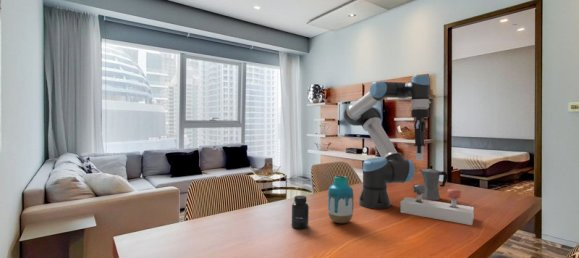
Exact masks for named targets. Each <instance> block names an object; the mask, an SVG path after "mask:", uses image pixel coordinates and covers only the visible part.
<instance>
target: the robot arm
mask: <svg viewBox="0 0 579 258" xmlns="http://www.w3.org/2000/svg"><path fill="white" fill-rule="evenodd" d="M430 87H431V81H430V76H429V75H428V74H416V75H413V76H411V81H407V82H406V81H405V82H402V81H399V82H398V81H382V80H381V81H373V82H372V83H371V84H370V87H369V91H368V92H367V93H365V94H364V95H362V97H360V98H359V99H357V101H355V102H354V103H352V104H349V105H348V106H347V107H346V108H345V109H344V111H343V119H344V121H345V122H346V123H347V124H348V125H350V126H354V127H355V126H357V127H358V126H360V127H362V128H363V130H364V131H365V132H368V135H369V136H370V138H371V140H372V142H373V144H374V145H375V148H376V150H377V151H378V153H379V155H380V157H371V158H367V159H365V160H363V162H362V190H361V193H360V195H359V199H358V202H359V203H358V204H359V205H360V206H362V207H364V208H367V209H375V210H376V209H377V210H380V209H381V210H383V209H387V208H390V207H391V200H390V196H389V192H388V189H387V187H388V184H399V183H401V184H403V183H408V182H411V181H412V180H413V178H414V176H415V172H416V171H415V169H416V168H415V164H414V162H413V161H412V160H411V159H408V158H405V157H404V156H403V154H402V153H400V152H398V151H397V150H396V148H395V146H394V144H393V143H392V141H391V139H390V137H389V136H388V134H387V133H386V131H385V130H384V127H383V126H382V122H383V113H382V111H381V110H380V108H378V107H374V106H376V105H377V104H379V103H380V102H382V101H383V100H385V99H387V98H388V99H389V98H393V99H394V98H395V99H396V98H397V99H408V98H409V99H410V98H411V100H410V101H411V107H410V108H411V112H410V113H411V114H410V115H411V118H413V119H414V118H415V121H414V125H413V126H414V127H413V128H414V147H415V149H416V150H415V160H416V161H422V162H423V161H424V147H425V146H426V143H425V135H426V127H427V126H426V121H425V118H429V117H430V109H429V108H430V104H432V101H430V94H431V91H430V89H431V88H430Z"/></svg>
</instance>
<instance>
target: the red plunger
mask: <svg viewBox="0 0 579 258" xmlns="http://www.w3.org/2000/svg"><path fill="white" fill-rule="evenodd" d="M447 197H448V198H451V202H450V204H451V208H456V209H457V205H458V204H457V203H458V202H457V200H458V199H461V198H462V191H461V189H459V188H447Z"/></svg>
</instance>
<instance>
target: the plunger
mask: <svg viewBox="0 0 579 258" xmlns="http://www.w3.org/2000/svg"><path fill="white" fill-rule="evenodd" d="M412 187H413V189H412V190H413V193H415V194H416V199H417V202H418V203H422V199H423V198H422V194H423V193H425V186H424V184H413V186H412Z"/></svg>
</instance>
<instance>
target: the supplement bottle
mask: <svg viewBox="0 0 579 258" xmlns="http://www.w3.org/2000/svg"><path fill="white" fill-rule="evenodd" d="M307 200H308V199H307V196H305V195H295V196H294V201H293V203H292V205H291V227H292V228H293V229H296V230H305V229H308V227H309V219H310V218H309V213H310V212H309V211H310V207H309V204H308V203H307V202H308V201H307Z"/></svg>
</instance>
